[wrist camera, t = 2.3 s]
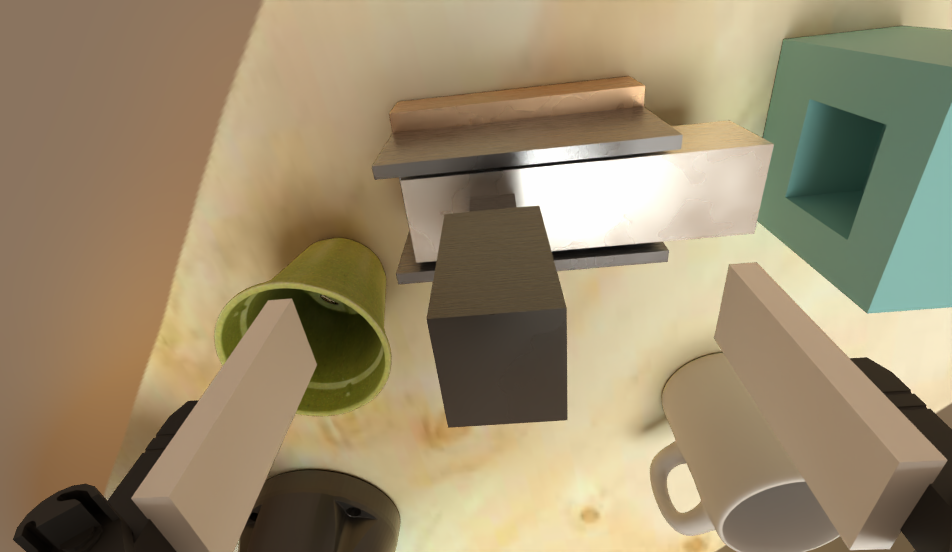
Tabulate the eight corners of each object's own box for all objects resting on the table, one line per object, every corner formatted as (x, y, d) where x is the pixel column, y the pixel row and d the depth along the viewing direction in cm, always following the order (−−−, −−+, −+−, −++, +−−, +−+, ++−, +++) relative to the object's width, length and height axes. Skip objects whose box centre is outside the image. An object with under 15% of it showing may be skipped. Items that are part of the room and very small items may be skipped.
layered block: (421, 228, 31) (402, 301, 24) (397, 101, 27) (366, 142, 20) (621, 209, 30) (665, 279, 23) (629, 76, 26) (685, 109, 19)
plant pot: (301, 186, 30) (241, 252, 22) (434, 253, 32) (419, 333, 25) (258, 293, 34) (195, 378, 26) (378, 345, 36) (351, 437, 29)
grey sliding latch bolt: (425, 225, 27) (374, 434, 14) (412, 152, 24) (338, 322, 12) (716, 199, 26) (938, 398, 13) (729, 120, 23) (1011, 269, 11)
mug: (733, 332, 35) (824, 457, 26) (788, 390, 38) (888, 521, 29) (605, 412, 40) (643, 543, 30) (663, 459, 43) (714, 590, 33)
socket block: (747, 212, 30) (867, 313, 21) (783, 39, 25) (965, 68, 16) (845, 203, 30) (1013, 302, 20) (902, 25, 25) (1162, 48, 15)
